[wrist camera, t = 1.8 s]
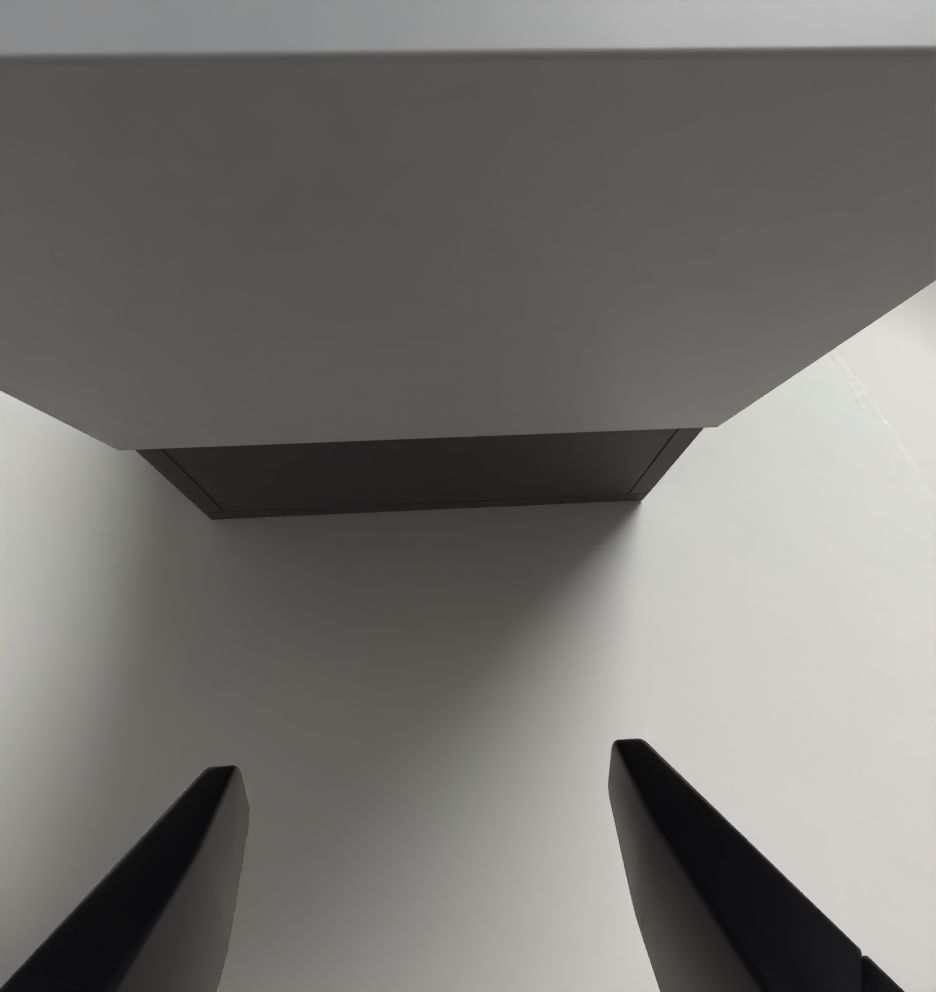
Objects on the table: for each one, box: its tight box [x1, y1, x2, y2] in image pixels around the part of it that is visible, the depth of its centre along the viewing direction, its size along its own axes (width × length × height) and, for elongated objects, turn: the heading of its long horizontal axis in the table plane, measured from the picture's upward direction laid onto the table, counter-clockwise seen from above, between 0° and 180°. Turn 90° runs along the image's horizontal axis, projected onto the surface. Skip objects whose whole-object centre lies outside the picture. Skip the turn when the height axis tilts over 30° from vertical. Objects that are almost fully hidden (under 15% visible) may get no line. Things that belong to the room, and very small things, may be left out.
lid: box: [0, 0, 936, 450], centre depth 12 cm, size 12×17×1 cm
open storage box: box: [136, 427, 704, 519], centre depth 23 cm, size 12×17×7 cm
